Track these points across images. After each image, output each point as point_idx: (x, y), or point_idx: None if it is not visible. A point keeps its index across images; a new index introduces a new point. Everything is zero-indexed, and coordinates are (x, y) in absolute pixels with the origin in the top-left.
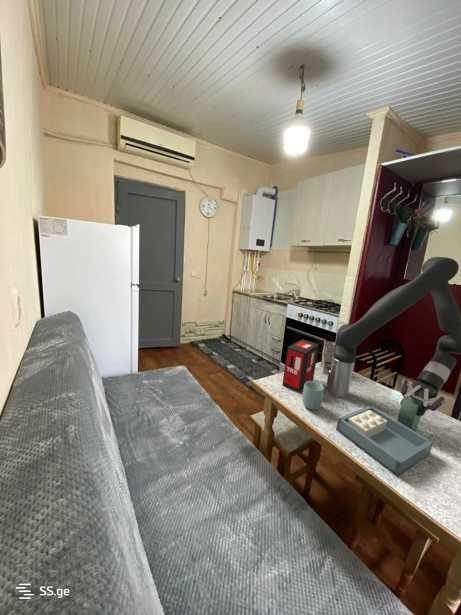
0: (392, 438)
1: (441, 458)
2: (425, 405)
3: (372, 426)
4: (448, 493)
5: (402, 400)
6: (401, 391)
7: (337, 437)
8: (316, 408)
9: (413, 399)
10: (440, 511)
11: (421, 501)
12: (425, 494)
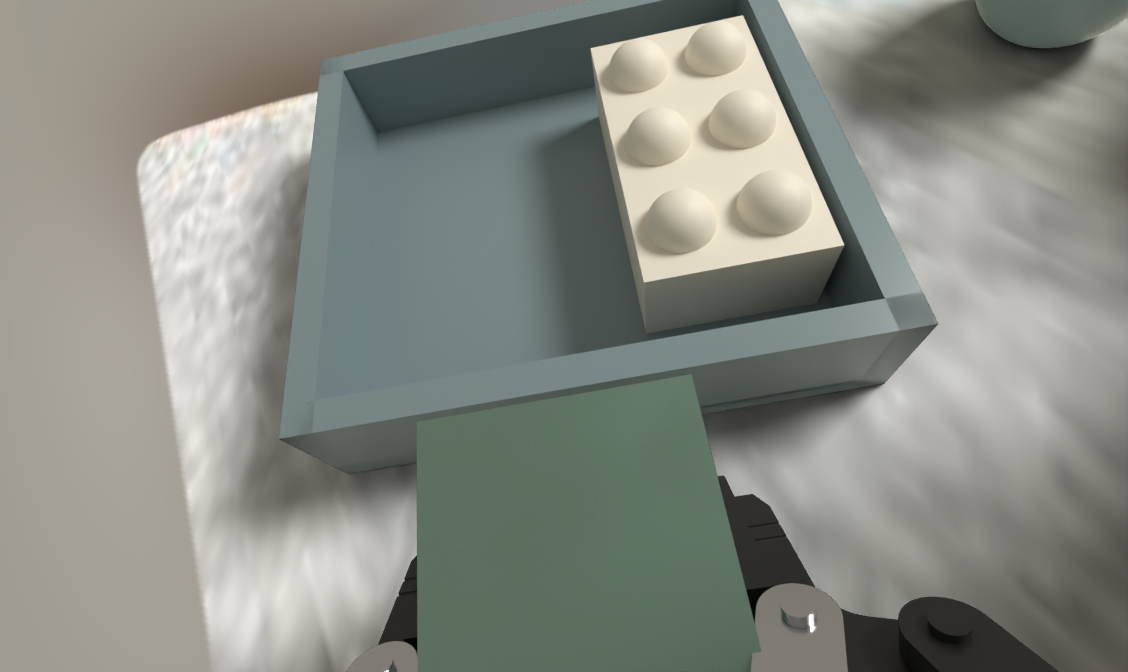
0: (549, 309)
1: (283, 539)
2: (371, 654)
3: (615, 113)
4: (183, 286)
5: (775, 541)
6: (981, 630)
7: None
8: (979, 6)
9: (593, 567)
10: (187, 171)
11: (250, 139)
12: (251, 180)
